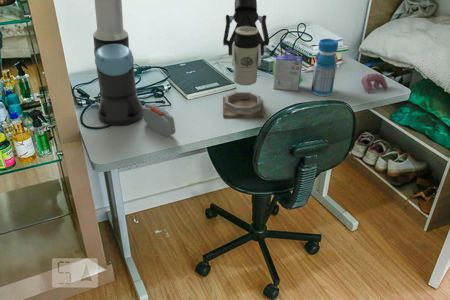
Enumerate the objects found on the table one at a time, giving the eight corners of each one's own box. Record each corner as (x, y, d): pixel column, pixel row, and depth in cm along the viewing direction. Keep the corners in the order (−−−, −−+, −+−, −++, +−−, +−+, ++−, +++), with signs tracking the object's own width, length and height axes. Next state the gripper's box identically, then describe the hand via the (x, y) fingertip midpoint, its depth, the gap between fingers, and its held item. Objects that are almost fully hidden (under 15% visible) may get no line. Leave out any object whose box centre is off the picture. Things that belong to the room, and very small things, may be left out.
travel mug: (235, 75, 157) (237, 25, 147) (258, 77, 156) (260, 27, 146) (231, 85, 150) (232, 32, 141) (254, 87, 149) (257, 34, 139)
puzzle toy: (274, 77, 182) (275, 64, 178) (272, 72, 186) (273, 59, 183) (288, 77, 182) (289, 64, 179) (286, 72, 186) (287, 59, 183)
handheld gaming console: (176, 137, 141) (175, 115, 137) (169, 140, 140) (168, 118, 135) (149, 121, 150) (147, 100, 145) (141, 124, 148) (139, 102, 144)
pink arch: (381, 90, 177) (380, 72, 176) (389, 89, 172) (387, 71, 171) (360, 93, 174) (358, 75, 173) (367, 93, 169) (365, 74, 169)
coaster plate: (223, 117, 153) (223, 108, 151) (222, 99, 164) (223, 90, 162) (263, 117, 153) (264, 108, 151) (260, 99, 164) (261, 91, 163)
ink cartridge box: (299, 85, 175) (303, 50, 167) (298, 91, 171) (302, 55, 163) (274, 83, 177) (277, 48, 169) (273, 89, 172) (276, 53, 165)
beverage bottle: (318, 98, 166) (325, 46, 155) (306, 89, 173) (312, 39, 162) (337, 94, 169) (345, 43, 158) (324, 85, 175) (331, 36, 165)
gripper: (274, 7, 154) (276, 68, 150) (215, 6, 154) (214, 68, 150) (277, -5, 147) (279, 59, 142) (214, -5, 147) (214, 59, 142)
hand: (246, 64), depth 146 cm, fingers closed on travel mug, 8 cm apart
